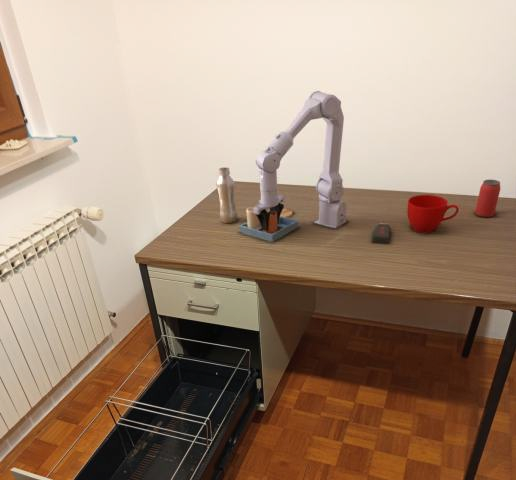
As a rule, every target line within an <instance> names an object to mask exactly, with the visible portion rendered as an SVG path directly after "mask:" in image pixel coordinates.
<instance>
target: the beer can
mask: <svg viewBox="0 0 516 480" xmlns="http://www.w3.org/2000/svg"><path fill="white" fill-rule="evenodd" d="M500 192H501V181H499V180H497V179H485V180H483V183H482V184H481V186H480V188H479V193H478V197H477V202H476V206H475V210H474V213H475V215H476V216H478V217H481V218H491V217H493V216H495V213H496V209H497V205H498V201H499V196H500Z"/></svg>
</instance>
